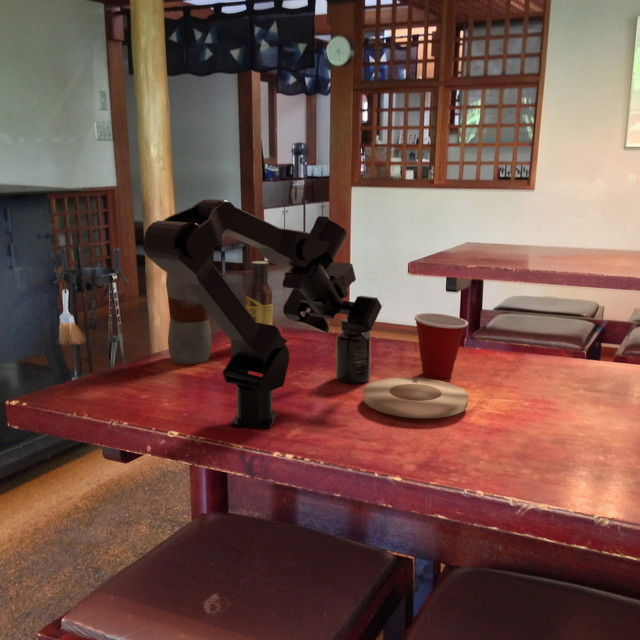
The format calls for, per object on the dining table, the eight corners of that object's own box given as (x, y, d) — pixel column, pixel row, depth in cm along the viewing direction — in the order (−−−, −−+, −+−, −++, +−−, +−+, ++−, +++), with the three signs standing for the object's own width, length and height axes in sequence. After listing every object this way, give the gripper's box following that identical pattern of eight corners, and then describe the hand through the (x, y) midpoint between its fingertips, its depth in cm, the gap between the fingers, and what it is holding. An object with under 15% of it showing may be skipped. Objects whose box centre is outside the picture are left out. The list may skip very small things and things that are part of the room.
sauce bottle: (242, 343, 160) (241, 260, 156) (266, 341, 163) (266, 259, 158) (251, 349, 154) (250, 263, 150) (276, 347, 157) (276, 262, 153)
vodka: (161, 363, 141) (156, 220, 135) (176, 352, 150) (172, 218, 144) (204, 366, 140) (201, 221, 134) (217, 355, 149) (215, 219, 143)
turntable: (472, 421, 107) (473, 411, 107) (360, 414, 109) (360, 405, 109) (463, 387, 125) (463, 379, 124) (366, 382, 127) (366, 374, 126)
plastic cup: (461, 385, 129) (464, 325, 127) (406, 379, 133) (408, 320, 130) (468, 371, 139) (472, 314, 137) (417, 365, 143) (419, 310, 140)
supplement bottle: (370, 375, 135) (372, 317, 133) (369, 385, 129) (371, 324, 126) (336, 373, 136) (337, 316, 133) (333, 383, 129) (335, 323, 127)
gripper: (378, 252, 115) (405, 306, 126) (292, 245, 126) (324, 295, 137) (352, 304, 111) (383, 354, 122) (265, 292, 121) (301, 340, 132)
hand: (347, 333), depth 128 cm, fingers open, 9 cm apart
